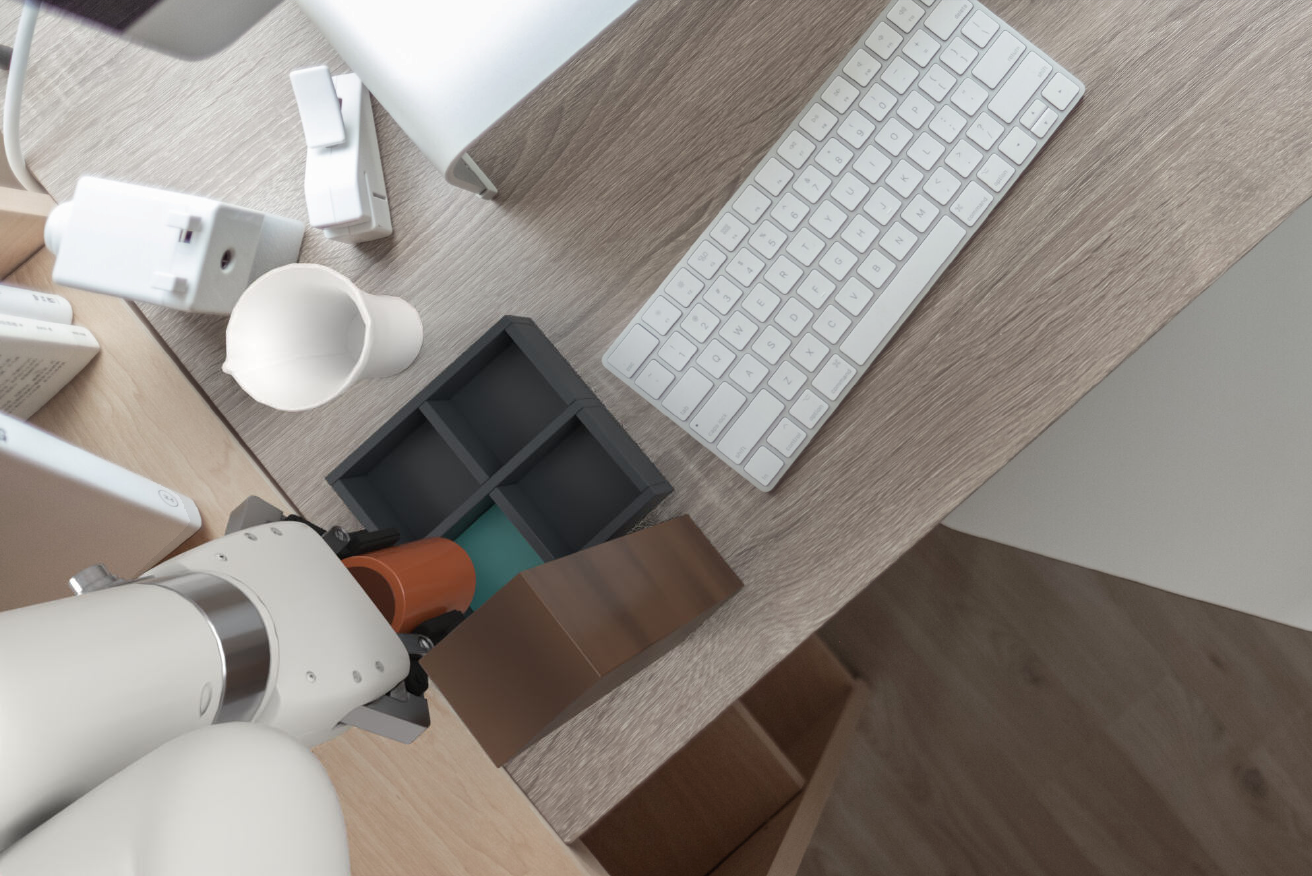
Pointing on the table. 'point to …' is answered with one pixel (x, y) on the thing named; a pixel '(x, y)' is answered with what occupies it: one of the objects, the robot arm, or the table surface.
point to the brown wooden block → (576, 632)
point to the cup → (315, 337)
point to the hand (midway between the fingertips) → (409, 591)
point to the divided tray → (503, 462)
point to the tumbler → (415, 580)
